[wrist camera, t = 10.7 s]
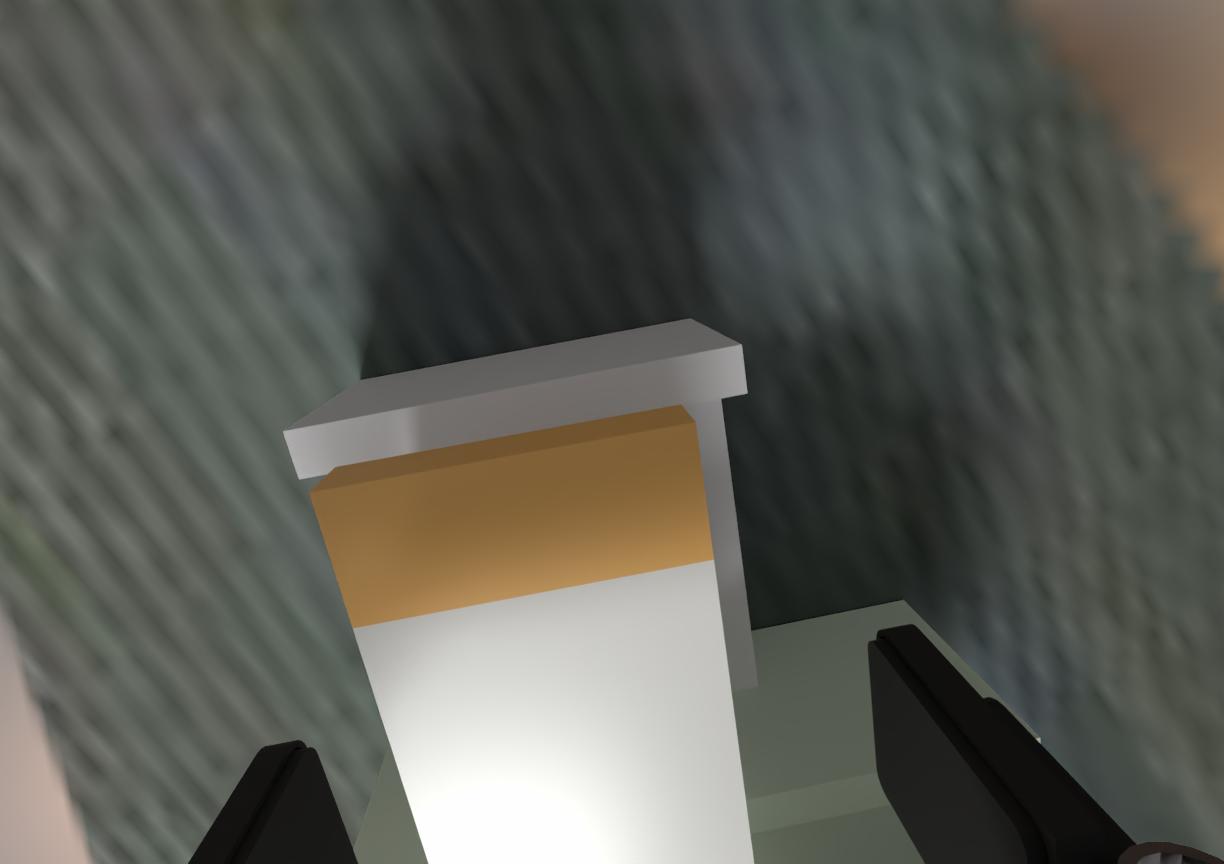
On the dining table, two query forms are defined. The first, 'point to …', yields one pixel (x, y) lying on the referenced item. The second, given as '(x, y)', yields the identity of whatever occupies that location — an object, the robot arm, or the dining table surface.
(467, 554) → the orange-topped white box
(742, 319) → the dining table surface
